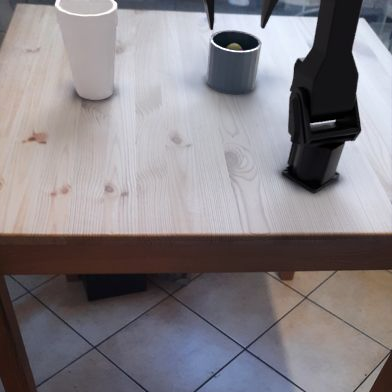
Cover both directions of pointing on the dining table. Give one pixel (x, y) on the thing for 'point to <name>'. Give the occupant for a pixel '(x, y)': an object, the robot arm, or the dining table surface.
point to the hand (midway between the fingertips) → (237, 28)
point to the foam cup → (89, 44)
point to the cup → (233, 62)
